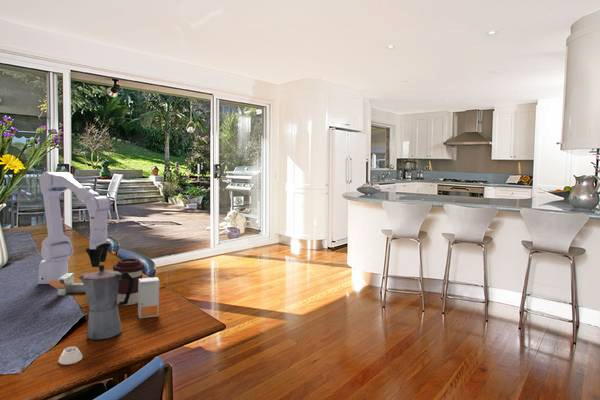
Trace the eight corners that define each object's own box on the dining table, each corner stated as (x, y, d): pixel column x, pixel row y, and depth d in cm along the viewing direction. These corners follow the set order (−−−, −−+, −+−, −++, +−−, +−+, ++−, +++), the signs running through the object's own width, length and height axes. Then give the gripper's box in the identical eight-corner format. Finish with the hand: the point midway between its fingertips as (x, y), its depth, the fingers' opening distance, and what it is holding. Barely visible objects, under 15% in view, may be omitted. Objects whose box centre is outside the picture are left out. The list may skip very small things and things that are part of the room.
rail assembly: (57, 295, 139) (57, 279, 138) (66, 288, 147) (66, 273, 146) (112, 294, 142) (112, 278, 142) (118, 287, 150) (118, 272, 150)
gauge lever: (47, 284, 131) (48, 280, 132) (56, 289, 138) (57, 285, 138) (57, 284, 132) (58, 280, 132) (65, 289, 138) (66, 285, 139)
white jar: (78, 354, 98) (55, 360, 94) (78, 342, 98) (55, 349, 94) (85, 361, 95) (62, 368, 91) (85, 349, 94) (62, 356, 91)
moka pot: (86, 326, 114) (86, 260, 112) (139, 327, 115) (140, 261, 114) (69, 341, 104) (69, 268, 103) (128, 341, 106) (128, 270, 104)
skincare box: (138, 319, 121) (139, 282, 120) (137, 314, 125) (138, 278, 124) (159, 316, 124) (159, 280, 123) (157, 312, 128) (157, 276, 127)
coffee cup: (146, 297, 141) (146, 257, 140) (139, 307, 131) (140, 263, 130) (117, 297, 139) (117, 257, 138) (108, 307, 129) (109, 263, 128)
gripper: (104, 231, 137) (104, 269, 138) (115, 225, 151) (115, 259, 152) (82, 231, 136) (83, 269, 137) (96, 225, 150) (96, 259, 151)
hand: (98, 264), depth 144 cm, fingers open, 7 cm apart
